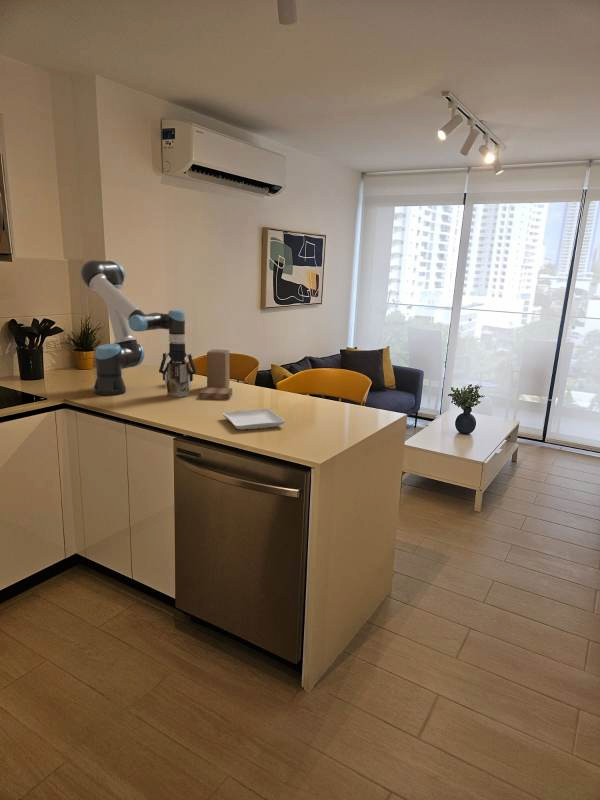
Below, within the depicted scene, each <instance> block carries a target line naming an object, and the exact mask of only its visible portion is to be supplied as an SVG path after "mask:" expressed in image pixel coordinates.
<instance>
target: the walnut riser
mask: <svg viewBox="0 0 600 800" xmlns="http://www.w3.org/2000/svg"><path fill="white" fill-rule="evenodd" d="M231 395H232V396H233V388H229V387H228V388H207V387H204V388H203V389H202V390H201V391H199V399H200V398H203V399H202V400H219V399H229V400H230V399H231V397H232V396H231Z"/></svg>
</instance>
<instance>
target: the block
mask: <svg viewBox="0 0 600 800" xmlns="http://www.w3.org/2000/svg"><path fill="white" fill-rule="evenodd" d="M230 355H231V354H230V350H228V349H216V348H215V349H214V348H213V349H210V350H209V351H207V352H206V388H229V387H230V367H231V366H230Z"/></svg>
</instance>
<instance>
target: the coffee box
mask: <svg viewBox="0 0 600 800" xmlns="http://www.w3.org/2000/svg"><path fill="white" fill-rule="evenodd" d="M168 363H169V362H166V366H167V365H168ZM186 365H187V366H188V367H189V365H190V362H186V364H182V362H174V361H173V362H172V363H171V364H169V368H168V370H167V372H166V373H167V388H166V389H167V391H166V392H167V396H171V395H172V396H171V397H176V396H178V398H183V396H184V397H188V396H187V395H189V396H190V388H188V375H189V373H188V371H187V370H186Z"/></svg>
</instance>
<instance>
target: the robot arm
mask: <svg viewBox="0 0 600 800" xmlns="http://www.w3.org/2000/svg"><path fill="white" fill-rule="evenodd" d="M125 272H126V271H125V270H124V267H123V266H122V265H121V264H120V263H119V262H117V261H112V260H94V259H93V260H89V261H87V262H85V263H84V264H83V265H82V266H81V269H80V277H81V280H82V282H83V283H84V284H85V285H86V286H87V287H88V288H89V289H90V290H91V291H93V292H94V291H95V292H96V293H98V295H99V296H100V297H102V298H103V299H104V301H105V304H106V309H107V313H108V316H109V320H110V324H111V328H112V332H113V333H112V334H113V336H114V337H113V338H114V341H113V343H105V344H101V345H98V346H97V347H96V348H95V354H94V355H95V356H94V358H95V370H96V378H95V382H94V385H93V394H95V395H98V396H115V395H116V396H118V395H122V394H125V393H126V392H127V386H126V383H125V381H124V378H123V376H122V370H124V369H129V368H135V367H137V366H139V365H141V364H142V363H143V361H144V359H145V350H144V347H143V346H142V345H141V344H140V343H138V341H137V338H136V337H134V336H133V333H132V331H133V332H139V333H140V332H145V331H154V330H166V331H167V330H168V342H169V345H168V346H169V348H168V350H169V352H168V353H167V352H163V353H162V360H161V363H160V367H159V370H158V372H159V373H161V374H162V380H163V381H164V388H166V389H167V370H168V368H169V364H171V363H172V362H182V364H186V363H187V360H186V359H185V358H186V357H187V359H188V363H189V365H190V366H191V368H192V371H193V372H192V371H191V369H190V367H188V366H187V365H186V370H187V371H188V373H189V375H188V388H189V389H191V388H192V382H193V380H194V375H195V374H197V369H196V366H195V363H194V360H193V354H192V353H186V343H185V342H186V331H185V330H186V318H185V315H186V314H185V311H183V310H181V309H169V311H168V313H163V312H162V313H161V312H151V313H146V314H145V313H144V311H142V310H141V308H138V307H137V306H136V305H135V303H133V302H132V301H131V300H130V299H129V298H128V297H126V295H124V294H123V293H122V289H123V287H124V285H123V283H124V282H125V278H126V273H125ZM168 357H169V358H170V360H169V362H167V358H168ZM166 362H167V363H168V365H167V364H166ZM165 364H166V366H165ZM164 367H165V368H164Z"/></svg>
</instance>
